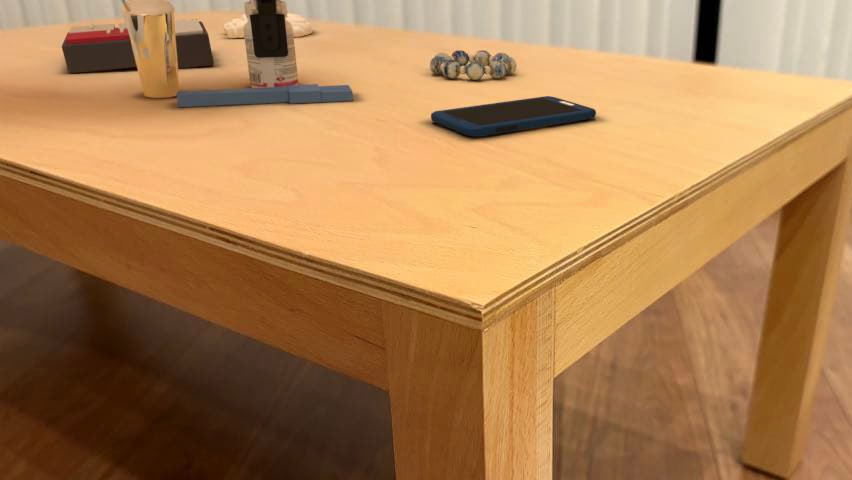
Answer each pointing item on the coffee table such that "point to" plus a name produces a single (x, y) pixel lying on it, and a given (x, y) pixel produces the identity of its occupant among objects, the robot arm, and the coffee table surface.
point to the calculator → (130, 47)
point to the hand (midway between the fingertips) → (270, 50)
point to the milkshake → (153, 45)
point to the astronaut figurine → (297, 22)
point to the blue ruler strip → (265, 95)
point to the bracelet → (472, 64)
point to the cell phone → (512, 115)
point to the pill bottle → (270, 58)
